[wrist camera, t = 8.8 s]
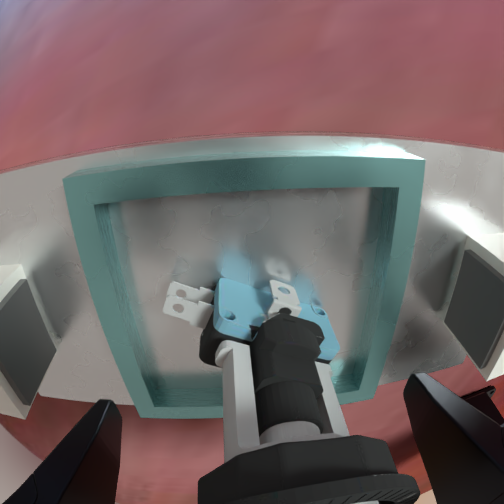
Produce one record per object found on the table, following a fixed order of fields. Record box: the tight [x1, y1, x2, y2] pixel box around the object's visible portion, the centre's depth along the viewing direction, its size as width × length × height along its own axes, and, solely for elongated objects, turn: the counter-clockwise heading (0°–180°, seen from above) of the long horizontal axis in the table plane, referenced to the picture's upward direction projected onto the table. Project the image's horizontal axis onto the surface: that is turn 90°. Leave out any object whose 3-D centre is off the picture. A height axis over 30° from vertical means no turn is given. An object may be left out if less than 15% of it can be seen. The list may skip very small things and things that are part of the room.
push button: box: [162, 278, 420, 504], centre depth 9 cm, size 7×5×10 cm
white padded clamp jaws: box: [0, 233, 504, 420], centre depth 11 cm, size 5×26×4 cm, turn 92°
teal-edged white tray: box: [0, 132, 504, 419], centre depth 13 cm, size 13×26×3 cm, turn 92°
